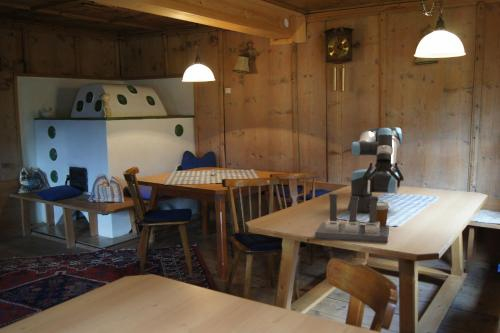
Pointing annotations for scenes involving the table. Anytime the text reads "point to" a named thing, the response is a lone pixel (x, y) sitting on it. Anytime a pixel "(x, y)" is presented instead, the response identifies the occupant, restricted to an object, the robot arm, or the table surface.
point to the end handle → (373, 209)
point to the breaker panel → (353, 231)
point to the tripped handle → (333, 206)
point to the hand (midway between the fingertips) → (382, 192)
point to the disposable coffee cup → (382, 213)
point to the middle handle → (353, 208)
